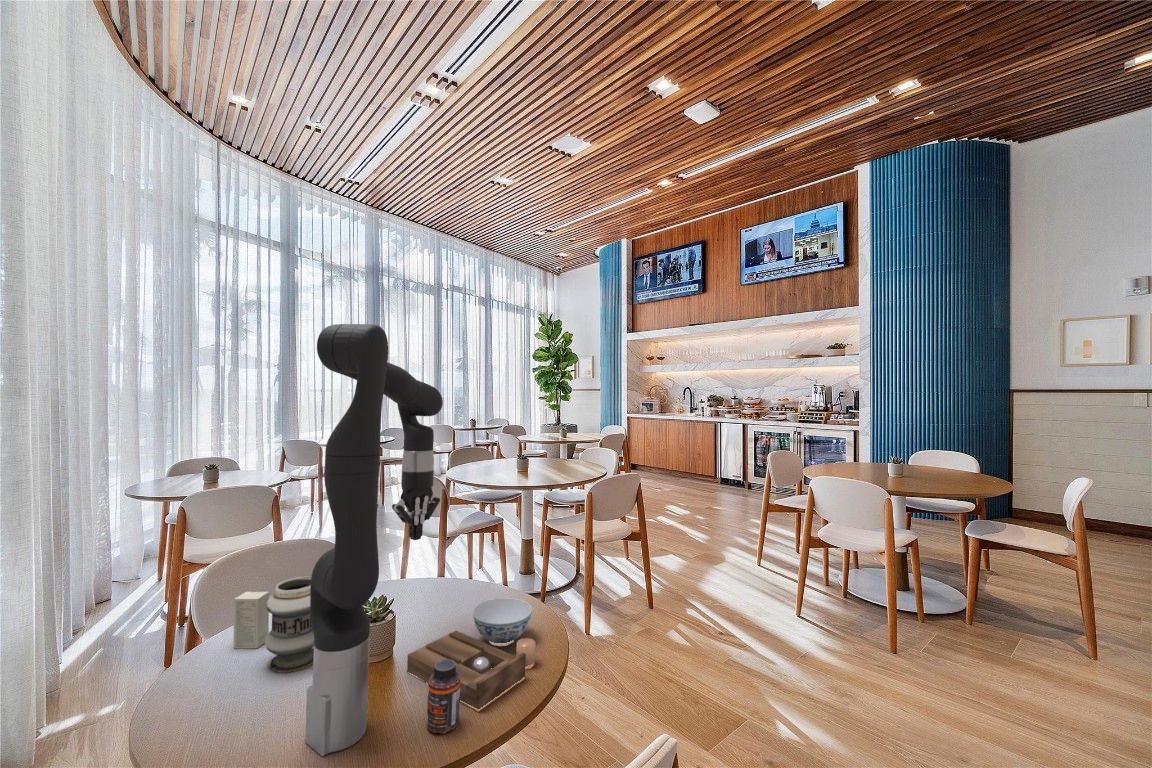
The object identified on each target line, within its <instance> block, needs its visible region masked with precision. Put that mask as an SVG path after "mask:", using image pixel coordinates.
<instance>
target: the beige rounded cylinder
mask: <svg viewBox="0 0 1152 768" xmlns="http://www.w3.org/2000/svg"><path fill="white" fill-rule="evenodd" d="M515 649H516V650H515V651H516V653H515V654H516V655H515V656H516V657H517V656H519V655H520V654H522V653H525V654H526V666H528V665H531V664H533V663H534V662H535V663H536V641H535V639H533V638H528V637H526V638H525V637H524V638H520V639H518V640H517V641H516V648H515Z"/></svg>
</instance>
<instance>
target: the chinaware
mask: <svg viewBox="0 0 1152 768" xmlns="http://www.w3.org/2000/svg"><path fill="white" fill-rule="evenodd" d="M532 613H533V609H532V605H530V603H528V602H527V601H525V600H522V599H519V598H512V597H499V598H497V597H496V598H492V599H488V600H485V601H482V602H480V603H479V604H477V605H476V606H474V608H473V610H472V616H473V621H474V622H473V623H474V624H475V628H476V629H477V631H478V632H479V634H480V635H481V636H482V637H483V638H485V639H486V641H487V640H488V642H489V641H491V642H494V643H507V642H510V641H512V640H514V639H515V640H516V639H518V638H519V637H520V636H521V635H522V634H523V633H524V632H525V631H526V629H527V627H528V625H529V623H530V620H531V616H532Z"/></svg>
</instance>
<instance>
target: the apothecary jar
mask: <svg viewBox="0 0 1152 768" xmlns="http://www.w3.org/2000/svg"><path fill="white" fill-rule="evenodd" d="M311 577H312V576H298V577H293V578H288V579H285V580H283V581H281V582H279V583H277V585H276V586H275V589H274V592H273V594H271V596H269V599H268V601H267V604H266V608H267V610H268V611H269V614H271V630H269V633H268V635H267V637H266V639H265V643H264V646H265V649H266V650H268V652H270V653H271V654H273V655H275V656H274V657H273V658H272V659H271V661H270V663H269V665H268V666H269V668H270V669H273V670H274V672H276V673H289V672H296V671H298V670H302V669H305V668H307V667H309V666H311V665H313V655H314V634H313V630H312V627H311V620H310V587H311Z"/></svg>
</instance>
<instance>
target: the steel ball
mask: <svg viewBox="0 0 1152 768" xmlns="http://www.w3.org/2000/svg"><path fill="white" fill-rule="evenodd" d="M471 669H472V670H474V671H476V672H478V673H480V674H484V673H486V672H487V671H489V670H490V669H491V663H490V661H489V660H488V659H487V658H486V657H478V658H476V659H475V660H474V661H473V663H472V665H471Z"/></svg>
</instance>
